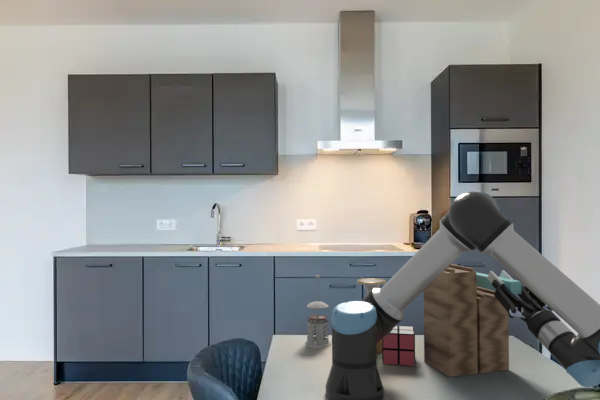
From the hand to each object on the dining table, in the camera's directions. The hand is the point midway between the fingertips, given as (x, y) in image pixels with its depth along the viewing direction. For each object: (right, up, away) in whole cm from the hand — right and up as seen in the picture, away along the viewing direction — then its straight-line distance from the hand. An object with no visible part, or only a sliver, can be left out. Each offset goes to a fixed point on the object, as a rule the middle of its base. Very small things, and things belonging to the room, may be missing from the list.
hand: (495, 274), depth 138 cm
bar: (-1, -4, +3) cm, 6 cm away
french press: (-52, -30, +29) cm, 67 cm away
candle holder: (-33, -30, +23) cm, 51 cm away
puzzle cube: (-27, -30, +11) cm, 41 cm away
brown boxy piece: (-7, -29, +6) cm, 31 cm away
